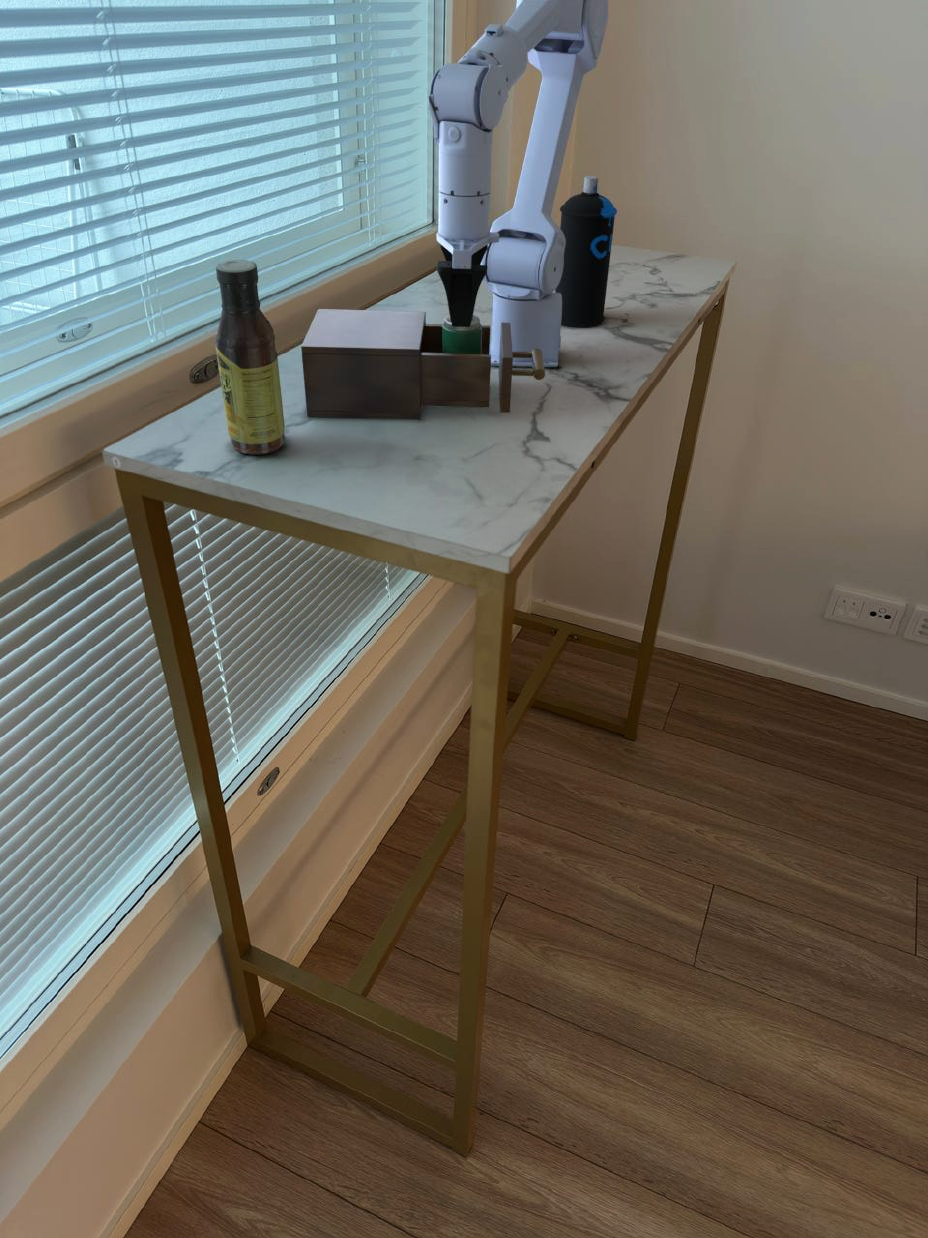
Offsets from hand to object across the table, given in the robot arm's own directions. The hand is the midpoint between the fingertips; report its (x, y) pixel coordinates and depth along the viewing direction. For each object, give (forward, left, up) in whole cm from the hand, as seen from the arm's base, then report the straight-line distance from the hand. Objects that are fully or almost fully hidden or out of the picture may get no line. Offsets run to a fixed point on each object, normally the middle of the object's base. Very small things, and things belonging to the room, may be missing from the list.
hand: (461, 315), depth 108 cm
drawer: (-2, 0, -9) cm, 10 cm away
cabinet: (+11, 0, -10) cm, 15 cm away
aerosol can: (-18, -32, -11) cm, 38 cm away
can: (0, 0, -8) cm, 8 cm away
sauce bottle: (+22, +15, -11) cm, 29 cm away
